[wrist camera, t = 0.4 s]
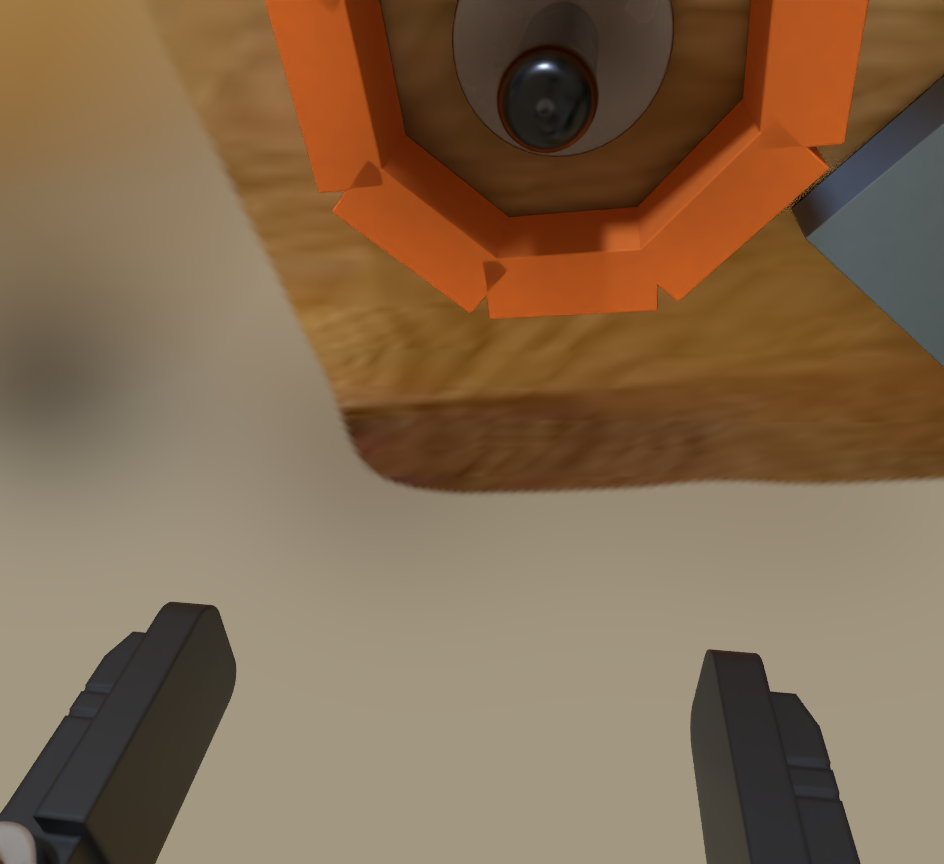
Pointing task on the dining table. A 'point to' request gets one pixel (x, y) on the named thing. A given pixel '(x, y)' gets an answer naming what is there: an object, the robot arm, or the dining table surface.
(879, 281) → the grey flat slab
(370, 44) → the ring
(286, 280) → the dining table surface
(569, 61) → the peg stand
